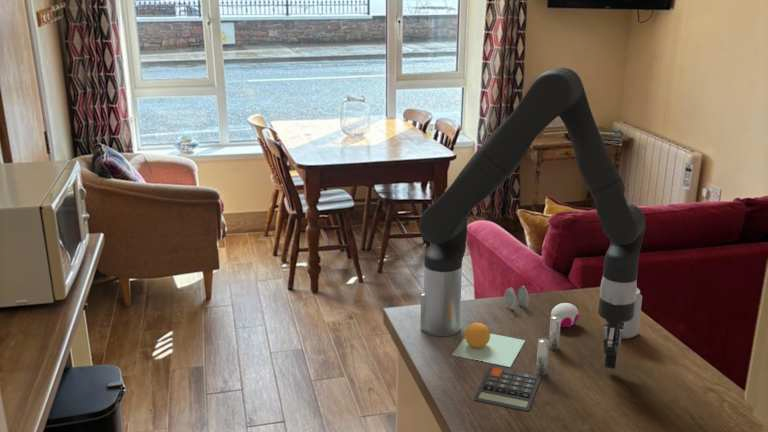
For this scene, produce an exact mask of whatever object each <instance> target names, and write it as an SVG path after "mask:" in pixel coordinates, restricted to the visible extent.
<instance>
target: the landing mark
mask: <svg viewBox="0 0 768 432" xmlns="http://www.w3.org/2000/svg"><path fill="white" fill-rule="evenodd" d="M525 343H526V340H524V339H520V338H515V337H510V336H505V335H499V334H494V333H490V340H489V342H488V343H487V344H486V345H485V346H484V347H481V348H474V347H472V346H470V345H469V344H468V343H467V341H466V339H464V338H463V339H462V340H461V342H460V343H459V345H458V346H457V347H456V349H455V350H454V351H453V352H452V354H451V355H452V356H453V357H458V358H463V359H468V360H472V359H473V361H476V360H478V362H481V361H483V362H482V363H487V364H492V365H497V366H501V367H506V368H511V367H512V365H513V364H514V362H515V360H516V359H517V356H518V355H519V353H520V351H521V350H522V348H523V346H524V345H525Z"/></svg>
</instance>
